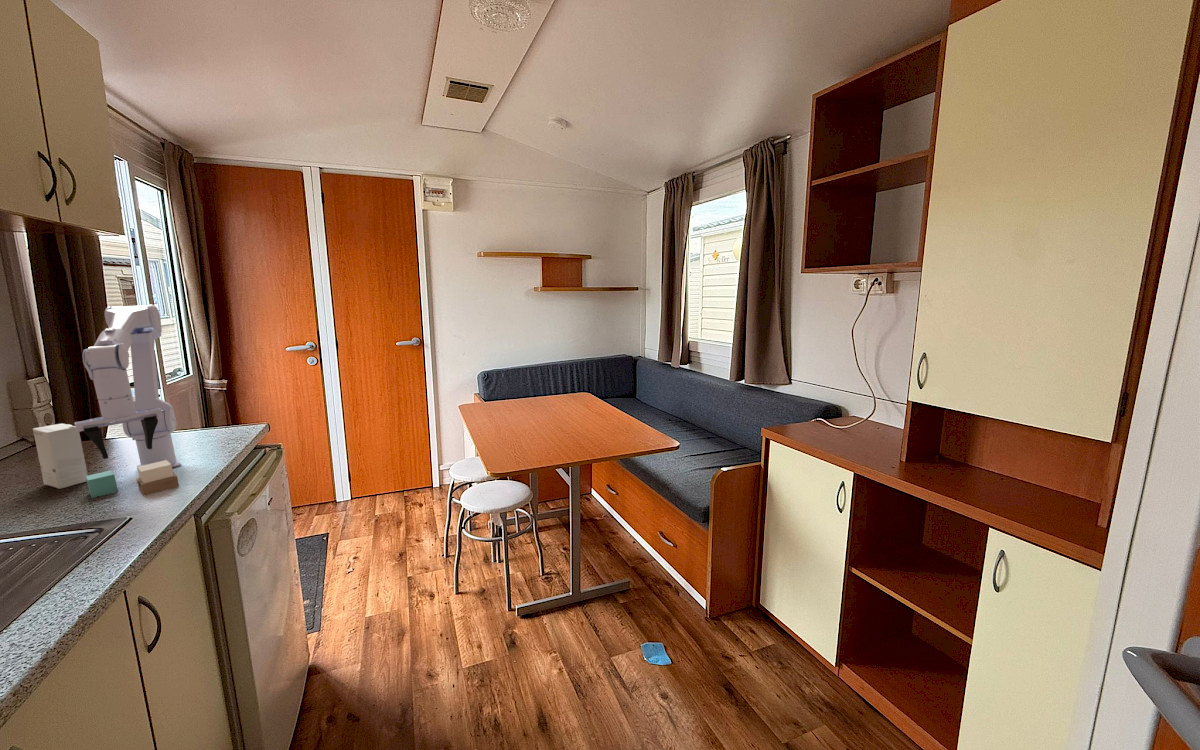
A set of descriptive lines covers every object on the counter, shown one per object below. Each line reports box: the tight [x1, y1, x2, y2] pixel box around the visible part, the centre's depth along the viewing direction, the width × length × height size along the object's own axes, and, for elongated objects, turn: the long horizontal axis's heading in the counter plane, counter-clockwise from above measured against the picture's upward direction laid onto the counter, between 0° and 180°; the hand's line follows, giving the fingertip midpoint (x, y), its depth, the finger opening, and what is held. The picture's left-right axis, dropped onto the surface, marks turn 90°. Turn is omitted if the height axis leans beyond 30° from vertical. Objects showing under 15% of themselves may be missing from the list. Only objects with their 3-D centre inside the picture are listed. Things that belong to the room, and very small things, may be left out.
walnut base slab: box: [136, 471, 180, 496], centre depth 121 cm, size 6×6×3 cm
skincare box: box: [32, 423, 88, 490], centre depth 125 cm, size 8×6×15 cm
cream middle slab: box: [136, 460, 174, 483], centre depth 120 cm, size 6×6×3 cm
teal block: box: [86, 470, 119, 499], centre depth 119 cm, size 4×4×4 cm
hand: (128, 453), depth 117 cm, fingers open, 7 cm apart
